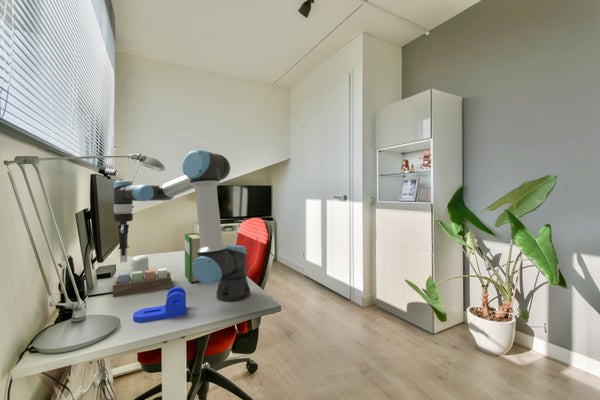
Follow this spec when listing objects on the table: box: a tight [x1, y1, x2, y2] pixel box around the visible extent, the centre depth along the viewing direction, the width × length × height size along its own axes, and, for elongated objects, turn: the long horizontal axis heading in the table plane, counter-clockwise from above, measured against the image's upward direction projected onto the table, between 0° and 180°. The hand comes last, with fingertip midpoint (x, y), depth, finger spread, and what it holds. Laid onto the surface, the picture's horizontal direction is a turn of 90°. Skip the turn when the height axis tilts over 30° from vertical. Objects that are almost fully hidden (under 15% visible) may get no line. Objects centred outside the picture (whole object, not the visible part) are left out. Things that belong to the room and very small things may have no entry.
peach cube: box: [145, 269, 156, 281], centre depth 133 cm, size 4×4×4 cm
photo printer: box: [130, 254, 149, 277], centre depth 149 cm, size 10×4×12 cm, turn 172°
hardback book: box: [184, 232, 201, 285], centre depth 148 cm, size 18×7×24 cm, turn 31°
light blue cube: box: [117, 271, 131, 284], centre depth 128 cm, size 4×4×4 cm
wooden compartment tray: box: [112, 271, 172, 297], centre depth 132 cm, size 12×24×5 cm, turn 118°
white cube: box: [157, 267, 168, 279], centre depth 136 cm, size 4×4×4 cm
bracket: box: [132, 286, 187, 323], centre depth 103 cm, size 18×8×9 cm, turn 114°
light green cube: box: [132, 271, 143, 282], centre depth 131 cm, size 4×4×4 cm
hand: (123, 261), depth 128 cm, fingers closed
